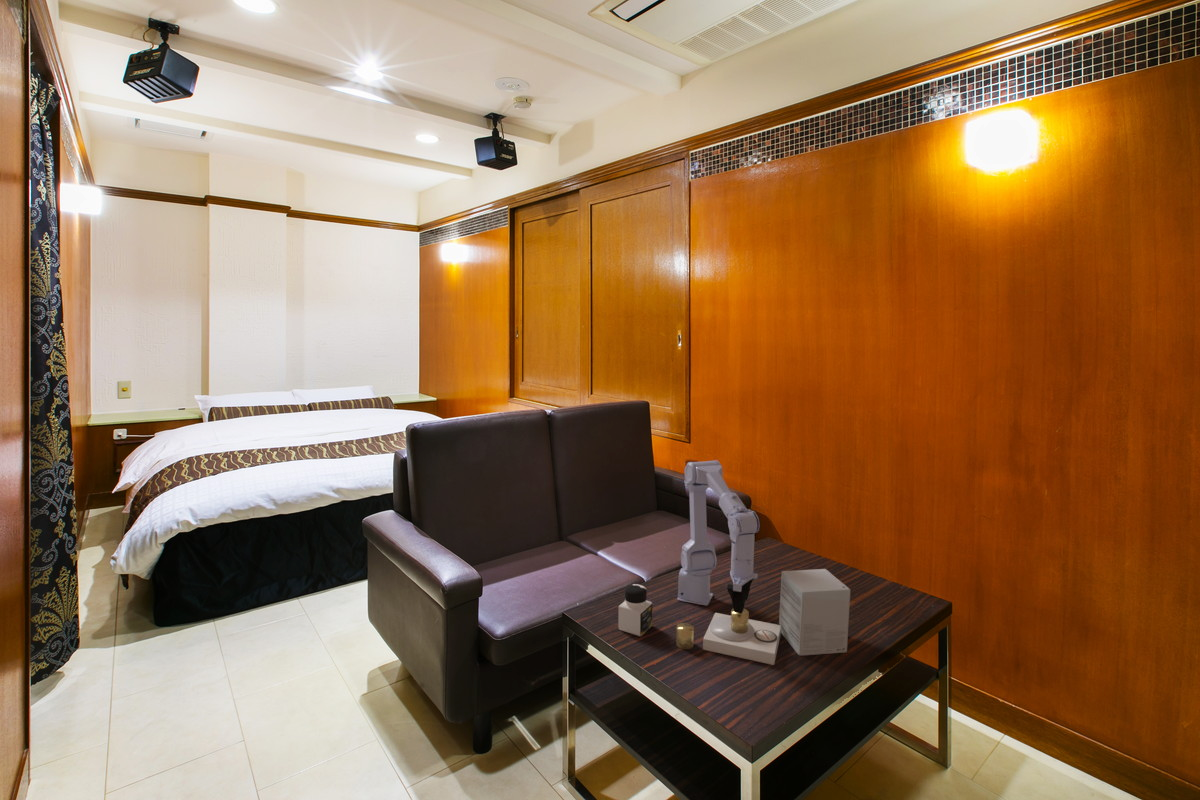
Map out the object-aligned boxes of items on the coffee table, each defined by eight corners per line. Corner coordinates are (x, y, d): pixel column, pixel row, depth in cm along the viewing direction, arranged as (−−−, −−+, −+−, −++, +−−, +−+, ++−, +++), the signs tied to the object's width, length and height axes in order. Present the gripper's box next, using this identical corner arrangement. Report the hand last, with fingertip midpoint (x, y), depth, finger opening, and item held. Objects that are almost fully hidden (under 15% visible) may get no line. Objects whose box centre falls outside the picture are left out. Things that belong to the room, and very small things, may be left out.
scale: (702, 649, 153) (703, 636, 153) (714, 622, 167) (715, 610, 166) (774, 665, 146) (774, 651, 146) (780, 635, 160) (780, 623, 160)
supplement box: (822, 626, 165) (825, 567, 162) (847, 653, 152) (851, 589, 149) (777, 629, 163) (780, 570, 161) (799, 656, 150) (802, 592, 148)
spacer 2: (729, 631, 155) (729, 613, 155) (732, 623, 160) (733, 606, 159) (746, 635, 154) (746, 617, 153) (749, 627, 158) (750, 609, 157)
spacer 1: (674, 647, 154) (674, 629, 154) (678, 638, 159) (679, 621, 158) (690, 650, 153) (691, 632, 152) (695, 642, 157) (695, 624, 156)
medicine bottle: (640, 637, 159) (641, 595, 158) (618, 629, 163) (618, 589, 161) (652, 625, 165) (653, 585, 164) (630, 618, 169) (630, 579, 167)
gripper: (754, 570, 145) (752, 621, 147) (761, 549, 159) (759, 596, 160) (725, 565, 148) (723, 616, 150) (735, 545, 161) (733, 591, 163)
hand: (740, 605), depth 155 cm, fingers open, 7 cm apart
